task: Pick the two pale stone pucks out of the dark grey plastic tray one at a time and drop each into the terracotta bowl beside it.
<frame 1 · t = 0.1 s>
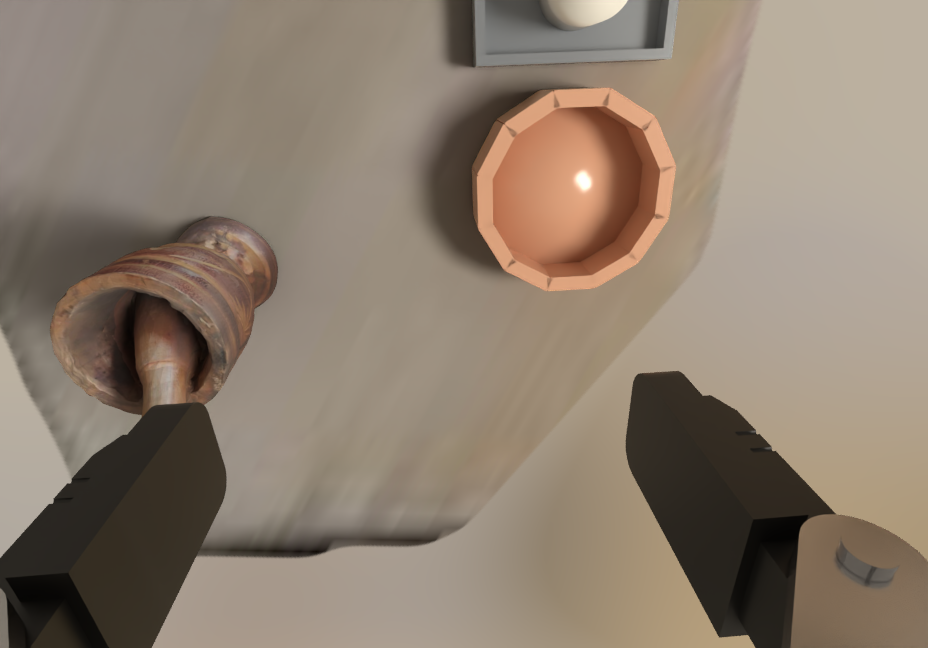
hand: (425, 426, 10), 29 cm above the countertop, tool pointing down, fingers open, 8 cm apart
bowl: (561, 186, 37), on the countertop
mortar and pestle: (246, 282, 38), on the countertop
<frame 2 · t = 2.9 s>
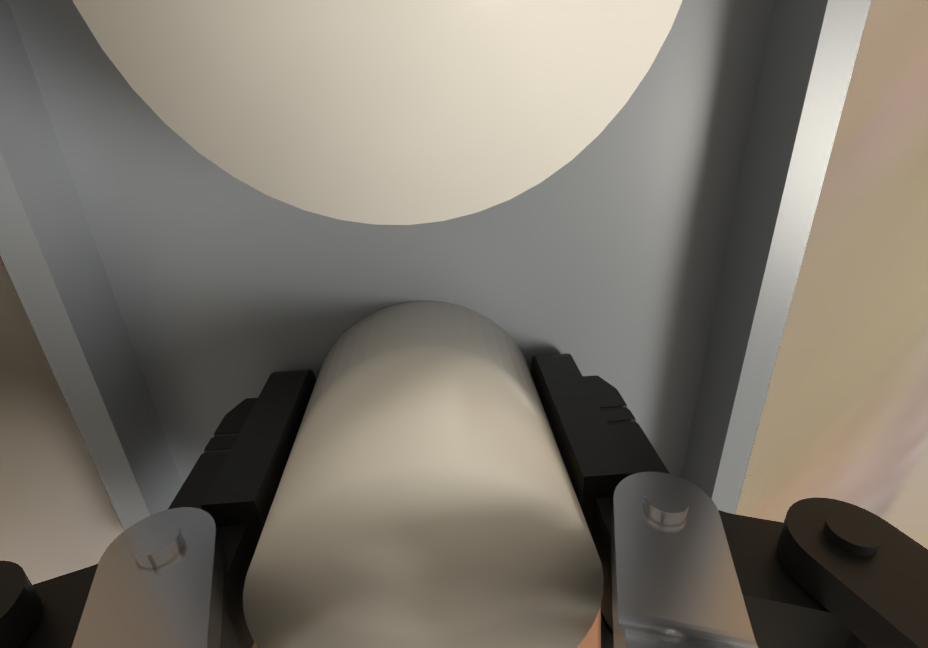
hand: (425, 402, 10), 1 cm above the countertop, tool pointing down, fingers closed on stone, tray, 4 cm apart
tray: (424, 221, 10), on the countertop
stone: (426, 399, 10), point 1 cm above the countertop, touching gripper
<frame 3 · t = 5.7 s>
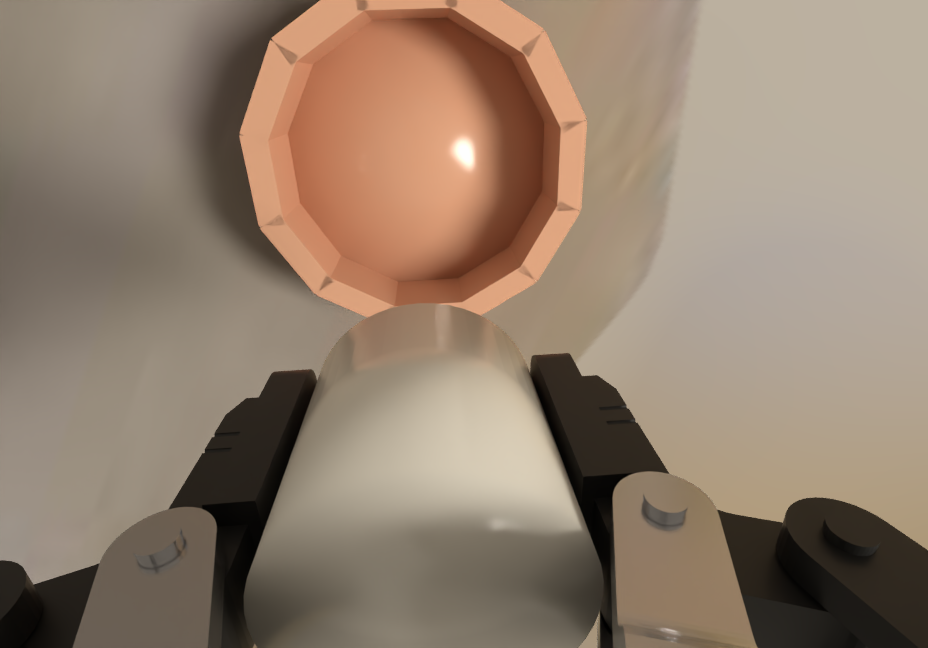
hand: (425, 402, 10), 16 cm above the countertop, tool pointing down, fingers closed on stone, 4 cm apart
bowl: (420, 160, 23), on the countertop
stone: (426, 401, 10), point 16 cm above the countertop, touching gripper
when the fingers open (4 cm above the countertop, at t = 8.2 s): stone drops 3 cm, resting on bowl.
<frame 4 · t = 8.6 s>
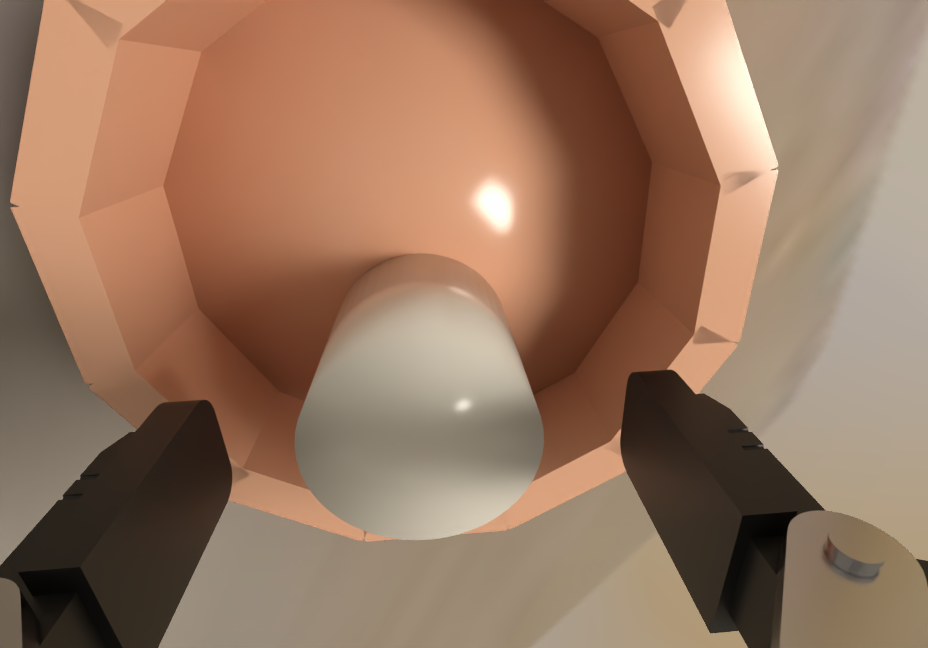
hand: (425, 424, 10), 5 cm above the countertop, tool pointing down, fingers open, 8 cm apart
bowl: (418, 226, 13), on the countertop
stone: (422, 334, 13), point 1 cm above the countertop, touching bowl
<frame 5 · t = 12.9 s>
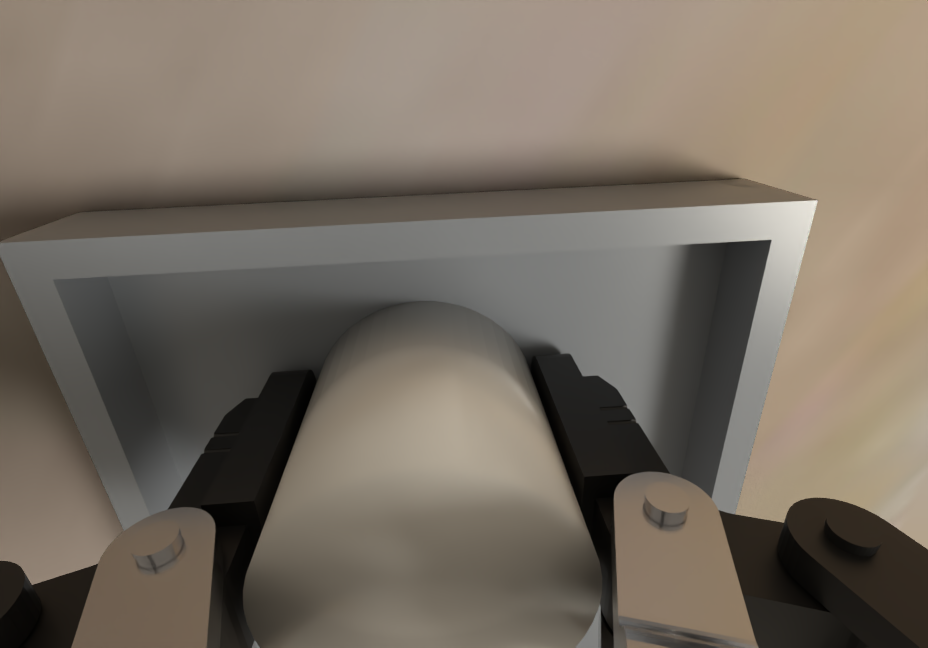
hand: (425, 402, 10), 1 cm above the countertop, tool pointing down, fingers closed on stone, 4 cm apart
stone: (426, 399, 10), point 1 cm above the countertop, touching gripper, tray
tray: (443, 497, 13), on the countertop
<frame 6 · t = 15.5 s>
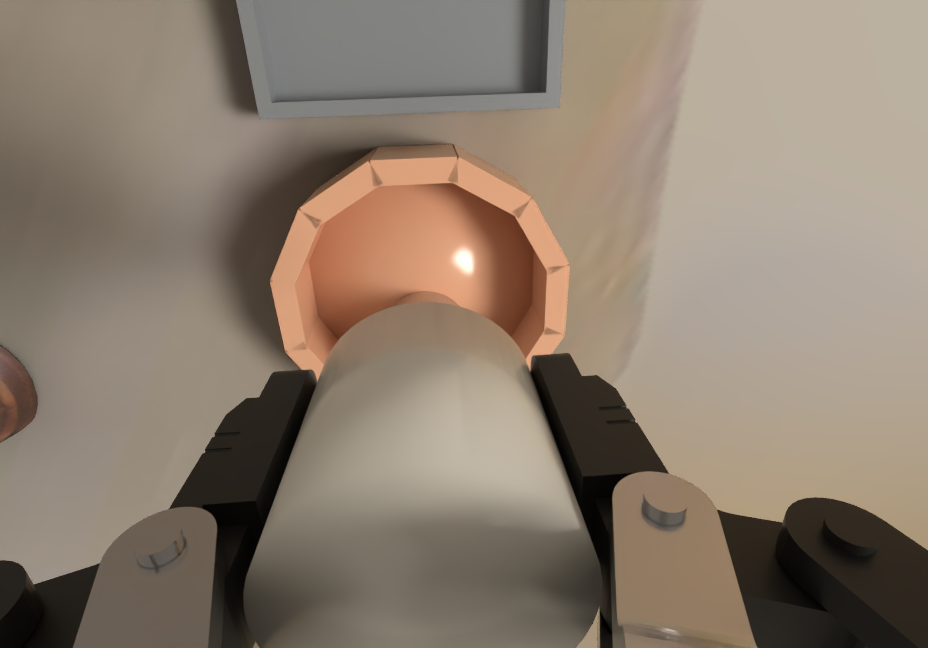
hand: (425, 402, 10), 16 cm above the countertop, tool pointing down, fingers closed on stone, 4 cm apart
bowl: (424, 276, 26), on the countertop
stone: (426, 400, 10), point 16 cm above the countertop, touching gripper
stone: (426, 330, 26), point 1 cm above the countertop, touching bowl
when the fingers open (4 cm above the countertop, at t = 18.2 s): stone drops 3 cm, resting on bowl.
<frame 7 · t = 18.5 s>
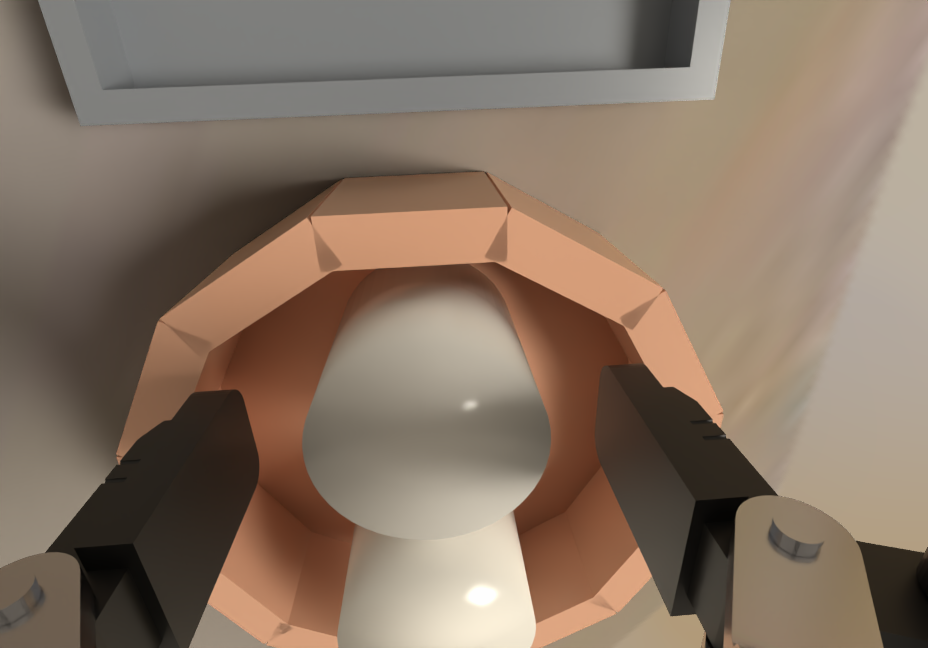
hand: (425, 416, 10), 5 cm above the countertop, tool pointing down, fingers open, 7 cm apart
bowl: (431, 397, 15), on the countertop
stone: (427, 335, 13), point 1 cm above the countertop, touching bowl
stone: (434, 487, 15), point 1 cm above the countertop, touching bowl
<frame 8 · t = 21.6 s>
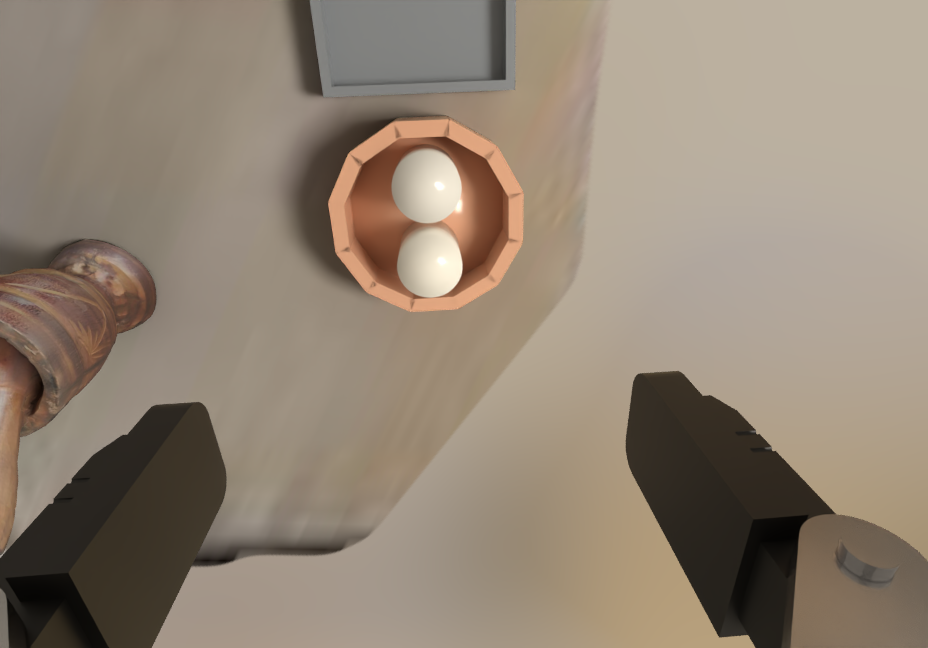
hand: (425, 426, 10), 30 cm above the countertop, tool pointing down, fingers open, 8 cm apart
bowl: (428, 210, 38), on the countertop
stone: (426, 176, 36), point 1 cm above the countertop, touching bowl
mortar and pestle: (127, 301, 40), on the countertop
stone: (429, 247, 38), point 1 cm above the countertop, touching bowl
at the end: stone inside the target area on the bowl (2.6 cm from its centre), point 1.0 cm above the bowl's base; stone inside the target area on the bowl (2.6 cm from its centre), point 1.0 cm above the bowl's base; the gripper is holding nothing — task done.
